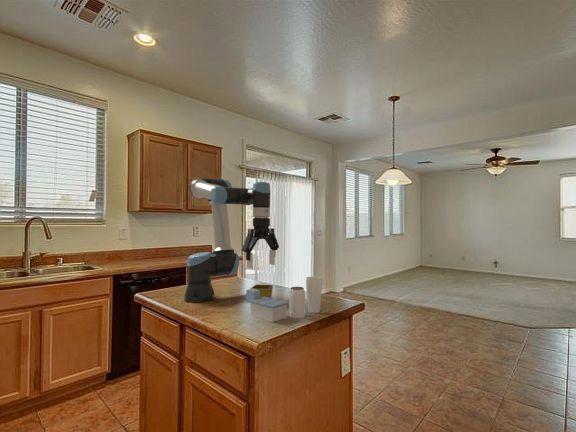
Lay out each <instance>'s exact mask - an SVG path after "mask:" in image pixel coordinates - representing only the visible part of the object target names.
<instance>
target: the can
mask: <svg viewBox="0 0 576 432" xmlns="http://www.w3.org/2000/svg"><path fill="white" fill-rule="evenodd" d="M304 288H305V287H303V286H292V287H290V289H289V298H288V299H289V301H288V304H289V317H290V318H293V319H302V318H305V317H306V291H305V289H304Z"/></svg>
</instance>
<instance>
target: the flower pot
mask: <svg viewBox="0 0 576 432" xmlns="http://www.w3.org/2000/svg"><path fill="white" fill-rule="evenodd" d="M273 286H274V285H272V284H257V283H256V284H254V285H253V286H252V287H250V289H256V290H260V298H261V297H268V298H272V296H273Z"/></svg>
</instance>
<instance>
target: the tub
mask: <svg viewBox="0 0 576 432" xmlns="http://www.w3.org/2000/svg"><path fill="white" fill-rule="evenodd" d="M250 317H254V318H258V319H260V320H263V321H267V322H270V323H275V322H278V321H280V320H284V319H286V318H287V305H284V306H280V307H277V308H273V309H271V308H268V307H264V306H260V305H256V304H253V303H250Z"/></svg>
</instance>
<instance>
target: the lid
mask: <svg viewBox="0 0 576 432" xmlns="http://www.w3.org/2000/svg"><path fill="white" fill-rule="evenodd" d="M245 298H246V299H245V300H248V303H249V304H251V303H253V304H256V305H260V306H264V307H268V308H271V309H273V308H277V307H280V306H284V305H286V306H287V305H288V304H289V301H286V300H281V299H275V298H272V297H271V298H268V297H261V298H260V290H256V289H246V291H245Z"/></svg>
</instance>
